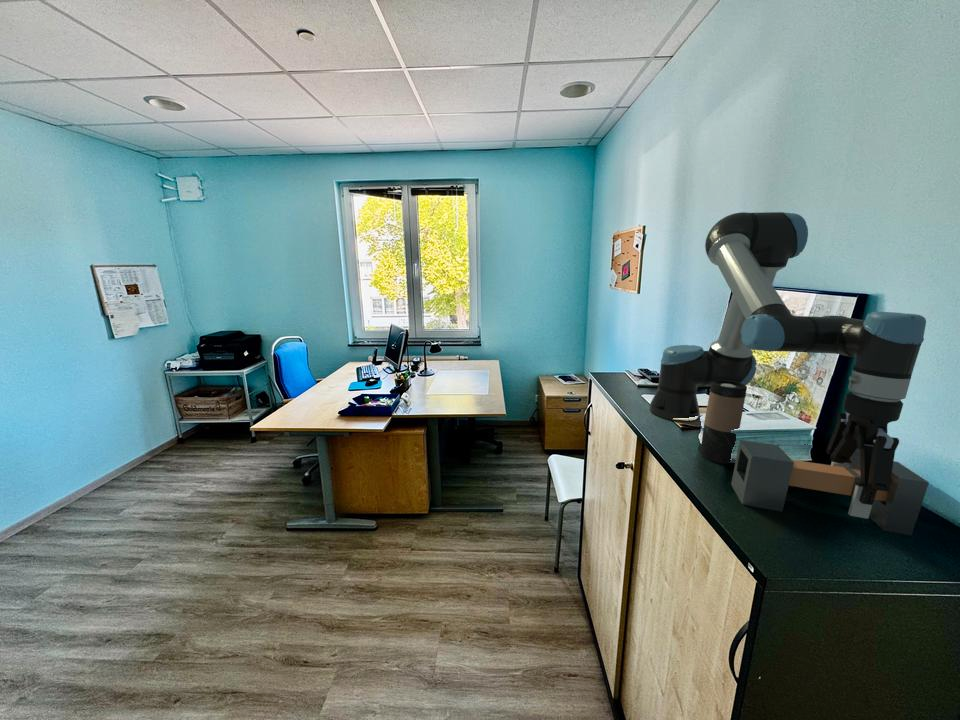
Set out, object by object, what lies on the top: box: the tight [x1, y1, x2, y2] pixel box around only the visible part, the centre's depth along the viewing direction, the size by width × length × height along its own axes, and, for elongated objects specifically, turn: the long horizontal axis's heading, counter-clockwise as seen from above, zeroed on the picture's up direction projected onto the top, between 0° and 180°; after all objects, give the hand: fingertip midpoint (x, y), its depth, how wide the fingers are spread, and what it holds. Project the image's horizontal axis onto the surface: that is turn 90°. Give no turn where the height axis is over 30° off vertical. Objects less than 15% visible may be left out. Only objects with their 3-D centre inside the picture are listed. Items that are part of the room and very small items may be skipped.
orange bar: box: [788, 459, 893, 502], centre depth 76 cm, size 4×22×4 cm, turn 71°
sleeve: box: [730, 439, 794, 513], centre depth 80 cm, size 8×7×11 cm
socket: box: [869, 460, 930, 537], centre depth 73 cm, size 8×4×11 cm, turn 161°
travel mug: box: [700, 380, 748, 465], centre depth 96 cm, size 8×8×20 cm
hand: (845, 503), depth 76 cm, fingers open, 8 cm apart
